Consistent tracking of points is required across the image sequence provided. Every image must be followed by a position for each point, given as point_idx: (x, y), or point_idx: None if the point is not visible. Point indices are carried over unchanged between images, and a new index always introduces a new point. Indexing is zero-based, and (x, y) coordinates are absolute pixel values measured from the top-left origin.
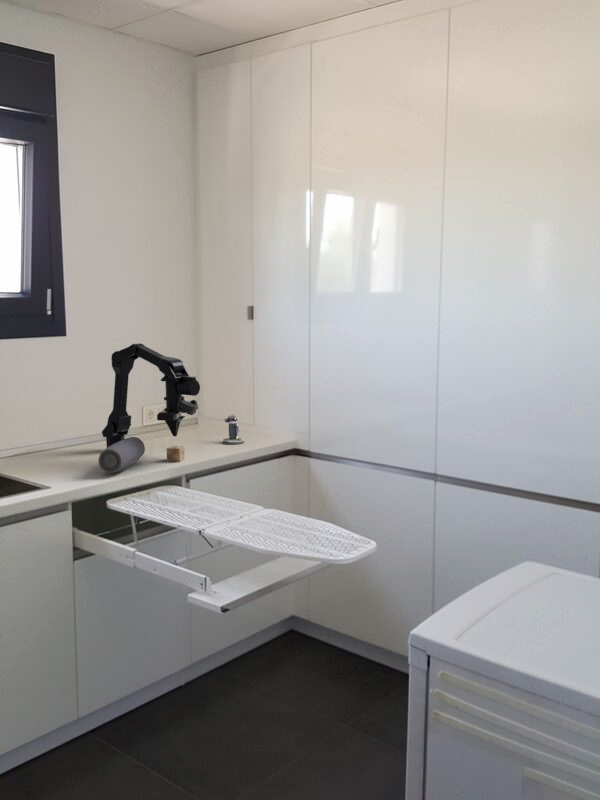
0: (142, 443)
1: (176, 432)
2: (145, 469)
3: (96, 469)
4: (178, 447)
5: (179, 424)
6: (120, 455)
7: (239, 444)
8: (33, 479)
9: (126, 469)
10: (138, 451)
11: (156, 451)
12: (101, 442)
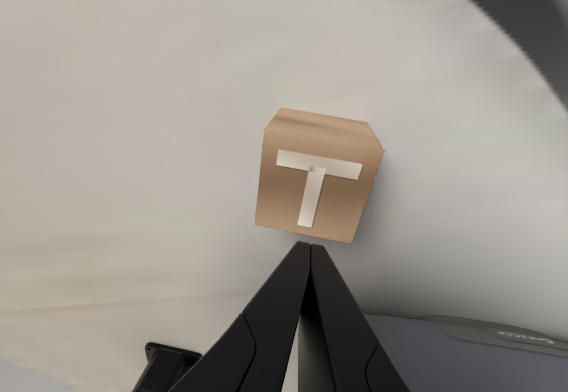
0: None
1: (329, 273)
2: (523, 264)
3: None
4: (332, 167)
5: (217, 352)
6: None
7: None
8: None
9: (502, 325)
10: (503, 369)
11: (131, 264)
12: (78, 386)
